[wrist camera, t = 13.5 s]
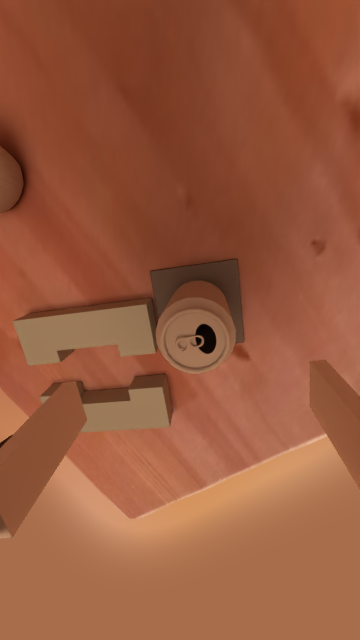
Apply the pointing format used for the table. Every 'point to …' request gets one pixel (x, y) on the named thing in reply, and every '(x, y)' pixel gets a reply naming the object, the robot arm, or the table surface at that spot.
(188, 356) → the can
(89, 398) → the pocket block
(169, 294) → the coaster
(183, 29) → the table surface
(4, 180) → the decorative ornament
